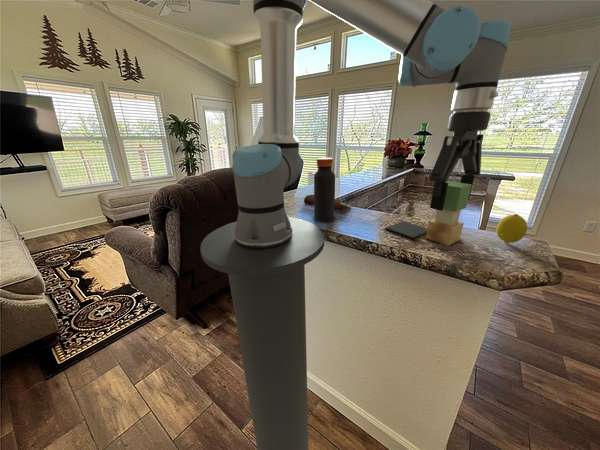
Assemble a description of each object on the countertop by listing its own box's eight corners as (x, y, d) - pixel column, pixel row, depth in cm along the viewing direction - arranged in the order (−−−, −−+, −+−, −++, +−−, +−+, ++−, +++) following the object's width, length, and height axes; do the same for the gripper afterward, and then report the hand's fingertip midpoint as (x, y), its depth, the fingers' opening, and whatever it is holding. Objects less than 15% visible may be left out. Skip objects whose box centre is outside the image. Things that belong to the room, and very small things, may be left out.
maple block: (425, 238, 64) (428, 221, 63) (436, 232, 67) (440, 216, 66) (448, 246, 60) (452, 227, 58) (459, 239, 63) (463, 222, 61)
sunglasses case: (352, 206, 90) (348, 194, 86) (343, 219, 88) (338, 207, 83) (316, 199, 102) (311, 187, 97) (307, 210, 99) (301, 199, 95)
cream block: (434, 221, 62) (437, 206, 61) (442, 218, 64) (445, 204, 63) (450, 225, 59) (453, 210, 58) (457, 222, 61) (461, 207, 60)
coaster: (385, 229, 71) (385, 227, 70) (403, 222, 75) (403, 220, 75) (412, 239, 64) (413, 237, 64) (430, 231, 68) (431, 229, 68)
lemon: (493, 237, 64) (502, 209, 61) (520, 242, 60) (531, 213, 57) (492, 244, 60) (501, 214, 57) (521, 250, 57) (532, 219, 54)
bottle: (312, 216, 83) (311, 158, 76) (330, 214, 84) (331, 157, 77) (317, 223, 77) (317, 160, 70) (336, 221, 78) (338, 159, 71)
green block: (432, 206, 61) (437, 183, 59) (443, 203, 64) (448, 181, 62) (455, 212, 57) (461, 187, 54) (466, 207, 60) (471, 184, 57)
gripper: (462, 109, 43) (439, 218, 51) (511, 111, 55) (487, 198, 63) (422, 112, 49) (408, 209, 56) (475, 113, 61) (457, 193, 69)
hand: (450, 204), depth 60 cm, fingers open, 13 cm apart
